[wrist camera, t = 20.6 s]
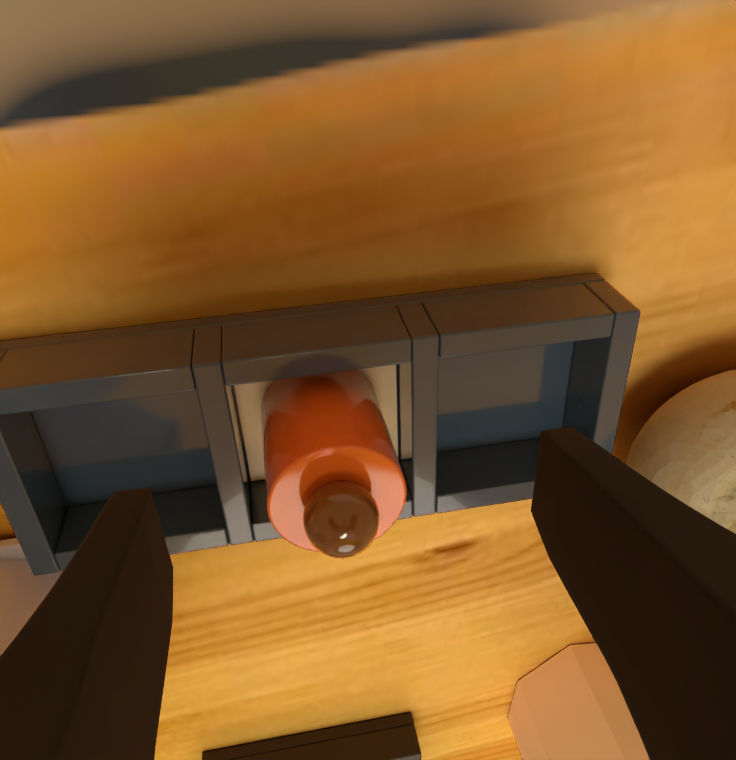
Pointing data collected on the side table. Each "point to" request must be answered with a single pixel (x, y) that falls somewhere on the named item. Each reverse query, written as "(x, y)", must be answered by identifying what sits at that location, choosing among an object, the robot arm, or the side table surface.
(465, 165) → the side table surface
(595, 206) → the side table surface
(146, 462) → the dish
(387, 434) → the orange cylinder with knob
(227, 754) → the tray
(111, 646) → the robot arm
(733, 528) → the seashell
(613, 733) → the mug
